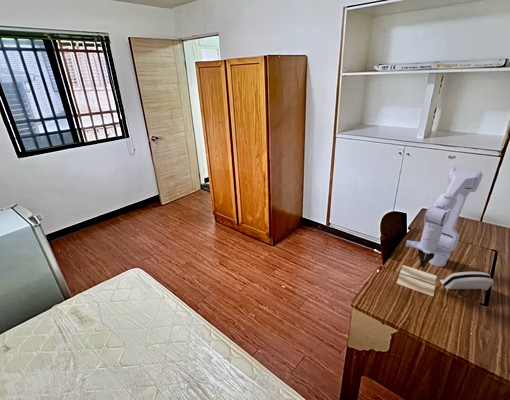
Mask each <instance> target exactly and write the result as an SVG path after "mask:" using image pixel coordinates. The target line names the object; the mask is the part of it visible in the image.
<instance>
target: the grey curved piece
mask: <svg viewBox="0 0 510 400" xmlns="http://www.w3.org/2000/svg"><path fill="white" fill-rule="evenodd" d="M439 282H440V283H441V285H442V286H444V287H445V289H447V290H479V289H480V290H481V291H488V290H489V289H490V288H491V286H492V285H493V284H494V283H495V282H494V279H493V278H491V275H490V274H489V273H487V272H485V271H483V272H482V271H461V272H460V271H459V272H455V273H454V272H453V273H450V274H449V275H448V276H447V277H445V278H444V279H439Z"/></svg>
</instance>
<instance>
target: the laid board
mask: <svg viewBox="0 0 510 400" xmlns="http://www.w3.org/2000/svg"><path fill="white" fill-rule="evenodd" d="M399 274H401V275H404V276H407V277H410V278H413V279H416V280H419V281H422V282H425V283H428V284H431V285H434V286H436V282H437V275H435V274H432V273H429V272H426V271H423V270H419V269H416V268H414V267H410V266H407V265H404V264H402V265H401V267H400V270H399Z"/></svg>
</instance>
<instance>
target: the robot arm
mask: <svg viewBox="0 0 510 400" xmlns="http://www.w3.org/2000/svg"><path fill="white" fill-rule="evenodd" d="M482 178H483V172H482V171H475V170H470V169H465V168H461V167H457V166H454V167H452V168H451V169H450V172H449V173H448V176H447V180H448V184H449V186H448V188H447V190H446V192H445V193H441V194H440V195H439V196H438V198H437V199H436V201H435V202H434V203H433V205H432V206H429V207H428V208H427V209H426V211H425V214H424V219H423V220H424V222H423V225H424V226H423V230H422V234H421V238H420V241H416V240H410V239H407V240H406V243H405V247H408V248H409V247H410V248H414V249H418V251H417V255H418V257H419V262H420V265H419V266H420V268H423V269H424V268H425V267H426V265H427V264H428V263H429V264H431V265H433V266H436V267H445V266H446V264H447V261H448V259H450V257H451V253H452V251H455V249H456V247H457V246H458V242H459V239H460V233H459V232H458V231H457V230H456V229H455V227H456V224H457V222H458V220H459V218H460V215H461V212H462V211H463V208H464V205H465V202H466V200H467V197H468V195H470V193H475V192H476V191H477V190H478V188H479V186H480V183H481V182H482Z"/></svg>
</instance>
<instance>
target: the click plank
mask: <svg viewBox="0 0 510 400" xmlns="http://www.w3.org/2000/svg"><path fill="white" fill-rule="evenodd" d="M396 284H397V285H399V286H402V287H405V288H408V289H410V290H412V291H416V292H419V293H422V294H424V295H427V296H431V297H434V295H435V289H436V285H432V284H429V283H426V282H423V281H420V280H417V279H414V278H411V277H408V276H405V275H402V274H400V273H399V274H398V278H397V281H396Z"/></svg>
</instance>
